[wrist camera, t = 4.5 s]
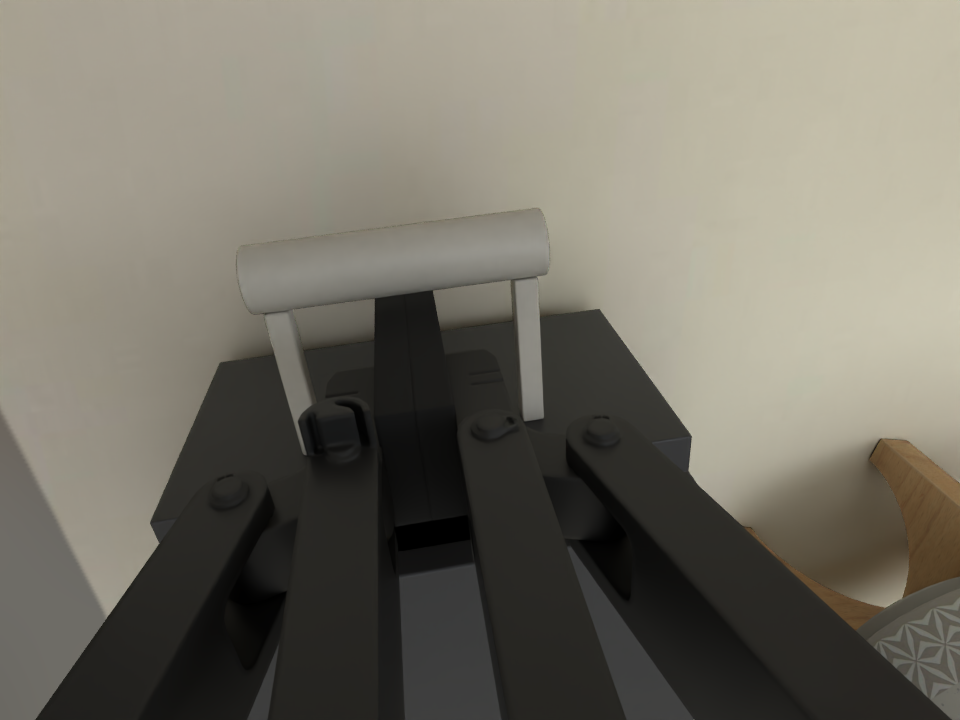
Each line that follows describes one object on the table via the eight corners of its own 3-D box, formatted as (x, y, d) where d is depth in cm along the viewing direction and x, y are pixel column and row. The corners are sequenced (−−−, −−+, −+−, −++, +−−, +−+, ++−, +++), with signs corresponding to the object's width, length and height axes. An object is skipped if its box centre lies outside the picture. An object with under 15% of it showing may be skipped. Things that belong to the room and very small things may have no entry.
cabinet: (225, 402, 24) (142, 621, 15) (606, 346, 25) (723, 520, 17) (315, 663, 32) (293, 902, 23) (602, 611, 33) (680, 821, 24)
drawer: (163, 196, 19) (45, 303, 12) (601, 144, 20) (715, 215, 13) (311, 633, 29) (291, 824, 22) (596, 582, 30) (660, 750, 24)
